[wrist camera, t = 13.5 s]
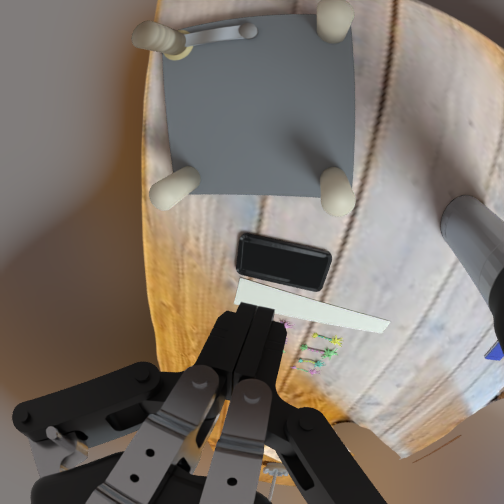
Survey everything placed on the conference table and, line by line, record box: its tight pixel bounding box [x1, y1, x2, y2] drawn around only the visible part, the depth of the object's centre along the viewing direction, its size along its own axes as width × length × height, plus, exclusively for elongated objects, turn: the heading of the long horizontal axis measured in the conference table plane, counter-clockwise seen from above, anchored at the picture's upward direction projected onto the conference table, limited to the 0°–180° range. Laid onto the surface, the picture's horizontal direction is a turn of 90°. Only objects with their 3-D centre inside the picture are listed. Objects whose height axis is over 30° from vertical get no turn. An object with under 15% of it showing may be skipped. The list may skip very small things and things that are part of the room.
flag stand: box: [263, 462, 288, 502], centre depth 95 cm, size 13×13×30 cm
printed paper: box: [234, 278, 391, 375], centre depth 55 cm, size 30×30×2 cm
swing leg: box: [132, 21, 258, 55], centre depth 23 cm, size 13×4×8 cm, turn 92°
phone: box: [236, 233, 332, 292], centre depth 45 cm, size 8×1×15 cm
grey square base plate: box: [149, 0, 355, 217], centre depth 28 cm, size 25×25×11 cm
